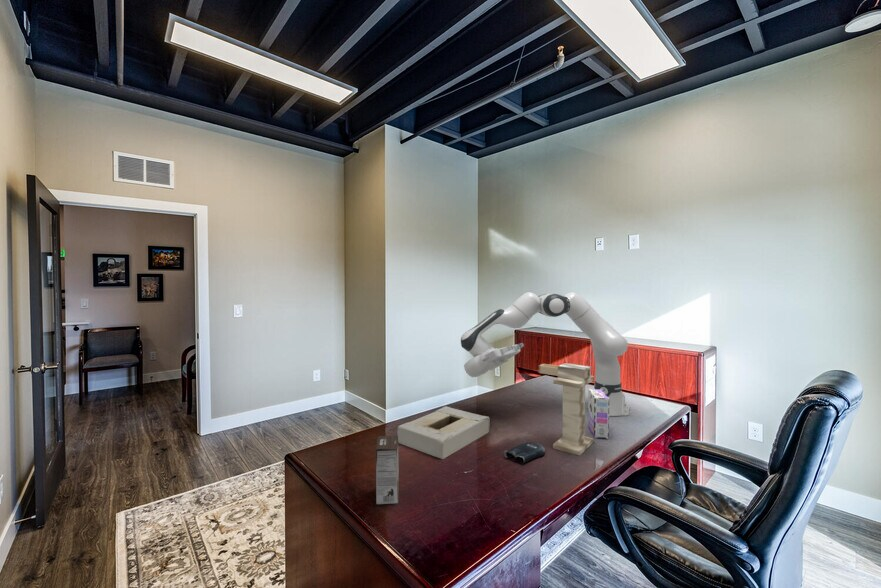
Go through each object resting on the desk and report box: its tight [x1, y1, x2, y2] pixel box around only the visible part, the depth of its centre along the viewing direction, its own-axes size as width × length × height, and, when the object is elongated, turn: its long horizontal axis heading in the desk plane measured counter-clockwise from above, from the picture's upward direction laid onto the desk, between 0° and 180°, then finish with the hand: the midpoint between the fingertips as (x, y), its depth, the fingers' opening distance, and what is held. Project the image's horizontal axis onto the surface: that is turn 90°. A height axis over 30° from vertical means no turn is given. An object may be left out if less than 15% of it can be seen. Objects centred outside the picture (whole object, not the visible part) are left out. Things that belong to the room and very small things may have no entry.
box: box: [396, 406, 491, 460], centre depth 155 cm, size 23×8×32 cm
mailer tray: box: [538, 363, 588, 379], centre depth 150 cm, size 4×18×3 cm, turn 50°
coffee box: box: [375, 435, 400, 505], centre depth 113 cm, size 9×6×16 cm
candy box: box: [587, 388, 610, 440], centre depth 160 cm, size 14×6×16 cm, turn 168°
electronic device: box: [503, 441, 546, 465], centre depth 139 cm, size 9×6×15 cm
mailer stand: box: [552, 362, 595, 456], centre depth 147 cm, size 15×10×30 cm, turn 140°
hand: (517, 345), depth 166 cm, fingers open, 8 cm apart
